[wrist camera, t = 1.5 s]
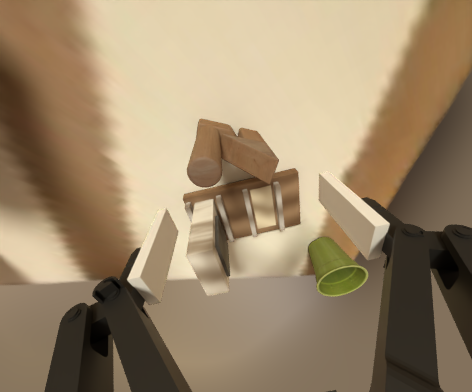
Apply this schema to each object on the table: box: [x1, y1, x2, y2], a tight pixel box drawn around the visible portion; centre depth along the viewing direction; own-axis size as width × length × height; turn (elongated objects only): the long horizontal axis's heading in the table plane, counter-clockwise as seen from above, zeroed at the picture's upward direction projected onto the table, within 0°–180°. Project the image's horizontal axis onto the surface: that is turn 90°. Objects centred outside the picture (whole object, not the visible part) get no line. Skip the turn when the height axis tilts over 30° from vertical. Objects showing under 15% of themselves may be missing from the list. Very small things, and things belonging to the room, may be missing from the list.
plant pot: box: [308, 237, 368, 296], centre depth 49 cm, size 12×12×11 cm
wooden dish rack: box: [183, 168, 300, 296], centre depth 38 cm, size 14×24×16 cm, turn 102°
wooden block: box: [187, 119, 279, 187], centre depth 28 cm, size 4×11×18 cm, turn 77°
